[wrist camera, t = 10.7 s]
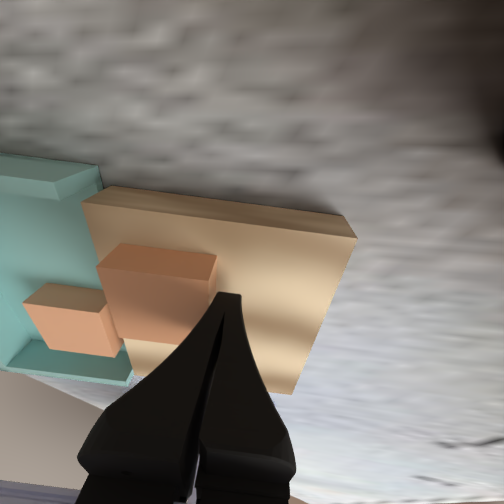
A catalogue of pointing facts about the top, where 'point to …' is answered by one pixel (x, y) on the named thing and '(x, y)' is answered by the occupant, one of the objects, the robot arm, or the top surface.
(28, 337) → the tray
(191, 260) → the tile
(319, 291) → the board
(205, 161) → the top surface
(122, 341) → the tile
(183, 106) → the top surface
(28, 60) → the top surface
